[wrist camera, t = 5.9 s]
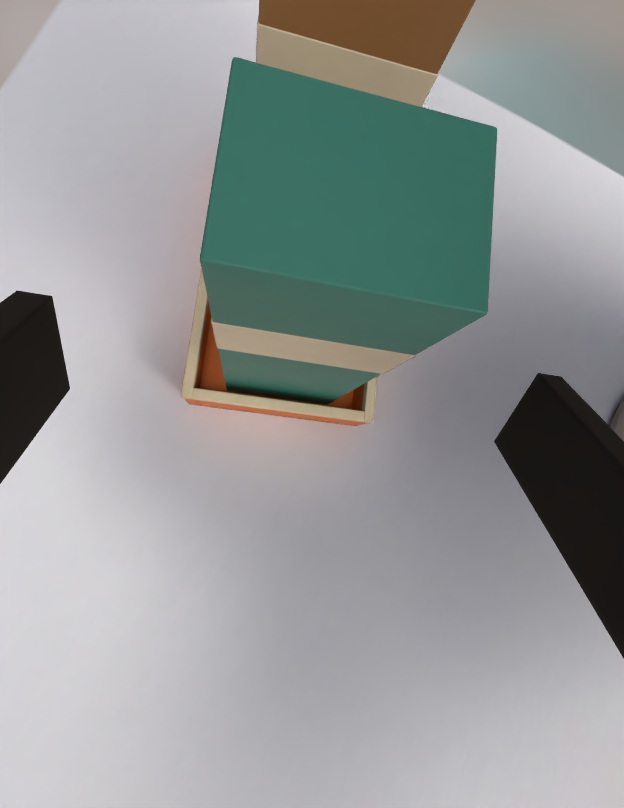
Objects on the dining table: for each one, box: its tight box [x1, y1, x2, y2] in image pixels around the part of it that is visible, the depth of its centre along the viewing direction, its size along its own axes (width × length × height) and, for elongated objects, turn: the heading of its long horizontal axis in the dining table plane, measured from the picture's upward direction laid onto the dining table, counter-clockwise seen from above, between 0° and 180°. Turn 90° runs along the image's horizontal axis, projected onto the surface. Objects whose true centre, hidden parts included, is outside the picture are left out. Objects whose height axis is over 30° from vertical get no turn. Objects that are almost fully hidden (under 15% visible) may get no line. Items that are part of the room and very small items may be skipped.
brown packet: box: [256, 0, 475, 107], centre depth 18 cm, size 6×5×16 cm
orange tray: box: [181, 268, 377, 426], centre depth 24 cm, size 10×16×3 cm, turn 173°
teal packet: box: [200, 57, 497, 405], centre depth 16 cm, size 6×5×16 cm
